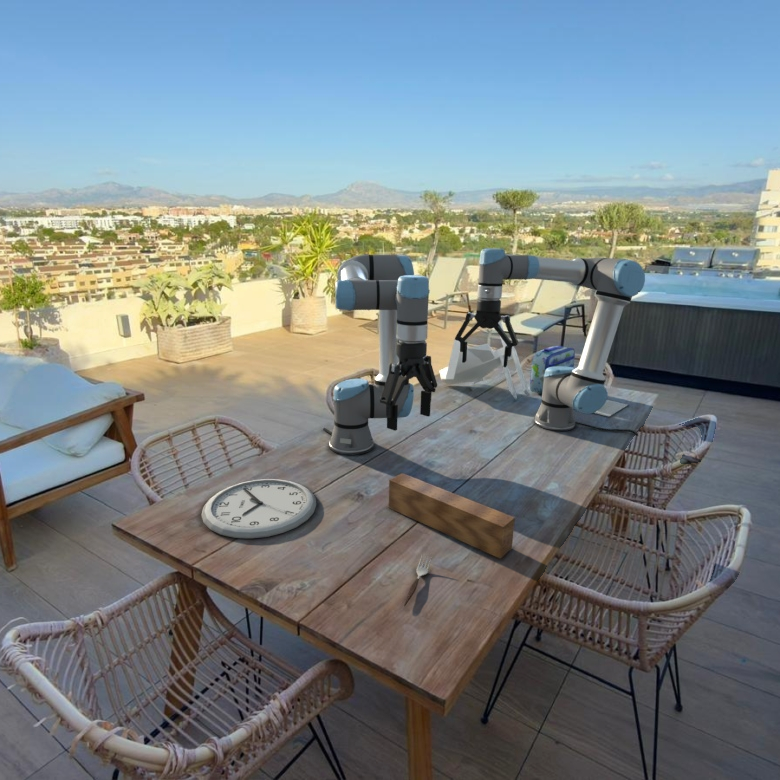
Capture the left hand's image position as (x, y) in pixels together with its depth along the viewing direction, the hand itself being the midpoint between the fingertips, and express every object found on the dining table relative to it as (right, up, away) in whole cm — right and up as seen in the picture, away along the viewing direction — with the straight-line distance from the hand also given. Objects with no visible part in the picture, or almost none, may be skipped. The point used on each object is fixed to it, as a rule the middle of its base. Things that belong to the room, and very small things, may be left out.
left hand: (409, 421), depth 134 cm
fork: (+1, -33, -22) cm, 40 cm away
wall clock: (-40, -24, +7) cm, 47 cm away
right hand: (+26, +17, +38) cm, 49 cm away
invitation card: (+87, +1, +92) cm, 127 cm away
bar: (+9, -27, 0) cm, 28 cm away
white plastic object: (+37, +7, +109) cm, 115 cm away
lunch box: (+71, +8, +113) cm, 134 cm away
